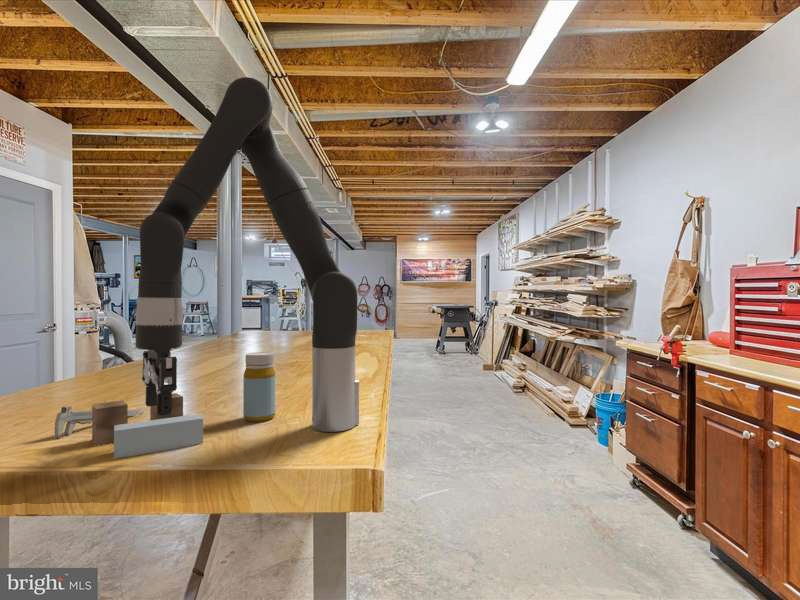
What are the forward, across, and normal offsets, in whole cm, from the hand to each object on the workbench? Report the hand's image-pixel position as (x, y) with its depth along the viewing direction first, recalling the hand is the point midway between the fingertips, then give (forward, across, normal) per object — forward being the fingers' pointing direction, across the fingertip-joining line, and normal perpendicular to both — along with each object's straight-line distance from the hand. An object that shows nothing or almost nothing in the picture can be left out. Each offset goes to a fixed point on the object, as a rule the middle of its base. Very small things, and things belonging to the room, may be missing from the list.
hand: (157, 409), depth 78 cm
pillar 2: (+7, +11, -4) cm, 14 cm away
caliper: (+8, +25, +5) cm, 26 cm away
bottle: (+7, +6, -22) cm, 24 cm away
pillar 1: (+7, +11, +6) cm, 14 cm away
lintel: (+7, 0, 0) cm, 7 cm away
